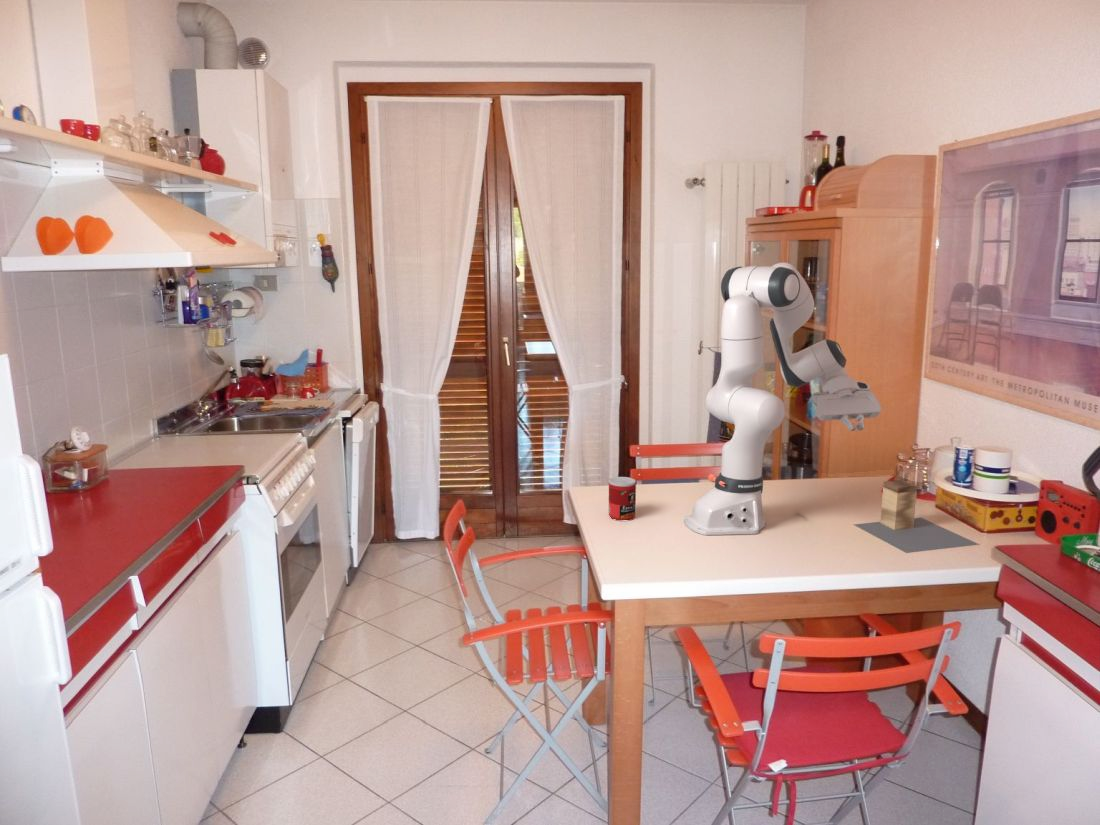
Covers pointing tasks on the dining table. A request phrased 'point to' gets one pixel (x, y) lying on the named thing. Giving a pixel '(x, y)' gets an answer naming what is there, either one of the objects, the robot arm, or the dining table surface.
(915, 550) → the rubber mat
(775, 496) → the dining table surface
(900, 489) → the maple block
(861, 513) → the dining table surface
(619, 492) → the canned food
